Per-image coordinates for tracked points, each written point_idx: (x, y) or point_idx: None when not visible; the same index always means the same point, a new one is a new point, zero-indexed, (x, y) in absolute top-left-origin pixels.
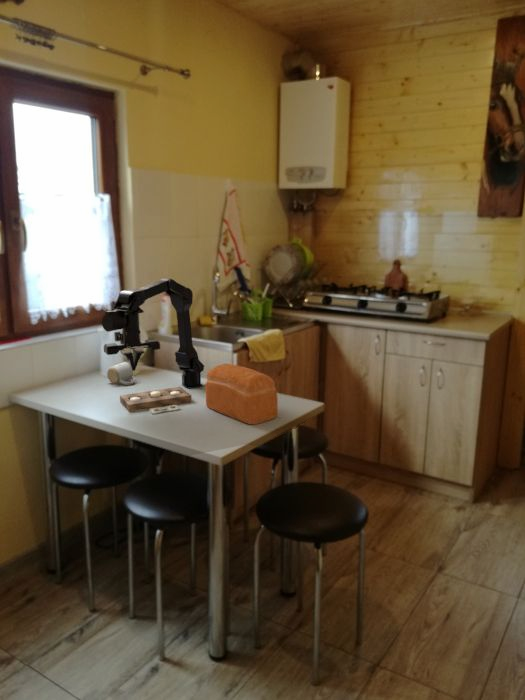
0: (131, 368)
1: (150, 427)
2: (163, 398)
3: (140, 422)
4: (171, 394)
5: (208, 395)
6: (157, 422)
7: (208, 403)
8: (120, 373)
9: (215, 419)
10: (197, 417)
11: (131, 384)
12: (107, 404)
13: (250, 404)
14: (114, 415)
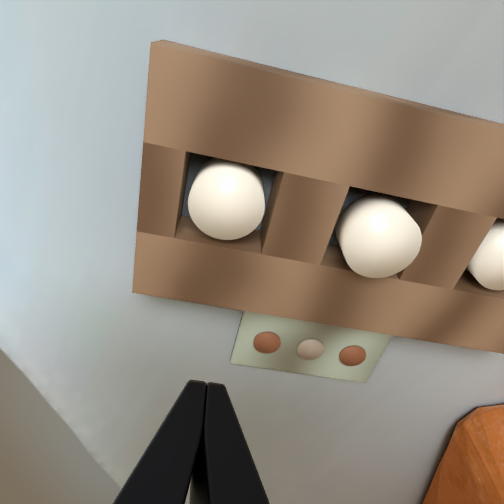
0: (175, 406)
1: None
2: (365, 315)
3: (138, 399)
4: (472, 263)
5: (475, 498)
6: None
7: (458, 453)
8: None
9: (374, 491)
10: (346, 458)
11: None
12: (50, 22)
13: None
14: (50, 268)
